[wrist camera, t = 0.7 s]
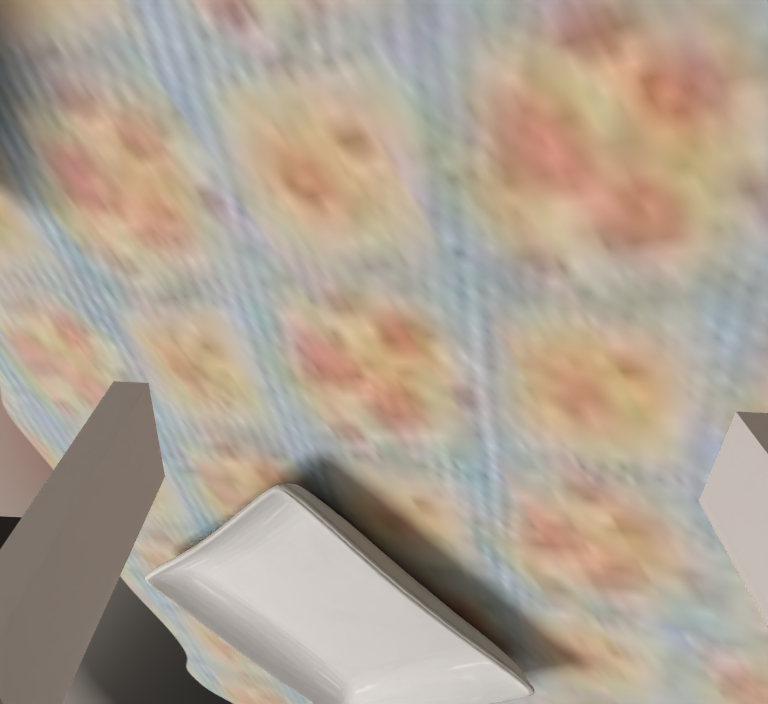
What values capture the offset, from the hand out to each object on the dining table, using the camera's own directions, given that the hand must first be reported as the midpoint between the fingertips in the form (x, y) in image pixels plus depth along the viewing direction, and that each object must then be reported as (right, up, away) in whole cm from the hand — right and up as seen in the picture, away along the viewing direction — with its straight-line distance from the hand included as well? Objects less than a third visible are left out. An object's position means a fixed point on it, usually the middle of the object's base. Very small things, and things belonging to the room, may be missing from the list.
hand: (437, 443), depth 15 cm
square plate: (-6, -20, +44) cm, 49 cm away
